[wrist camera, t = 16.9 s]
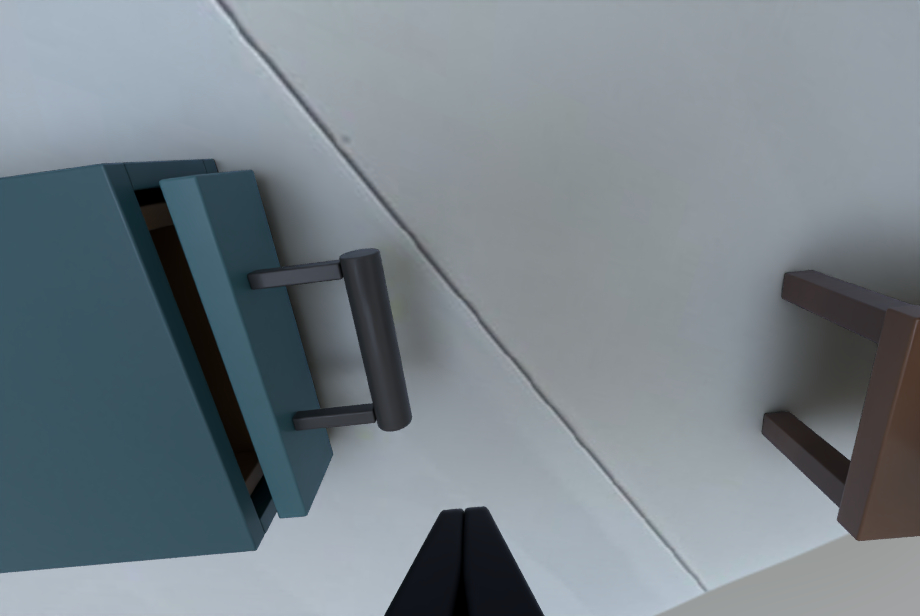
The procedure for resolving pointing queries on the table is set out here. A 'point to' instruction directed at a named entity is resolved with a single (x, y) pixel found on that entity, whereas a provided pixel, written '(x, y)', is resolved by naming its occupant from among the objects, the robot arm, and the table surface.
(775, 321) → the table surface
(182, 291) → the drawer
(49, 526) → the cabinet
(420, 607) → the robot arm
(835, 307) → the stool
